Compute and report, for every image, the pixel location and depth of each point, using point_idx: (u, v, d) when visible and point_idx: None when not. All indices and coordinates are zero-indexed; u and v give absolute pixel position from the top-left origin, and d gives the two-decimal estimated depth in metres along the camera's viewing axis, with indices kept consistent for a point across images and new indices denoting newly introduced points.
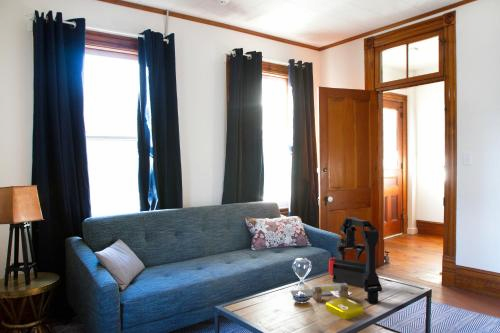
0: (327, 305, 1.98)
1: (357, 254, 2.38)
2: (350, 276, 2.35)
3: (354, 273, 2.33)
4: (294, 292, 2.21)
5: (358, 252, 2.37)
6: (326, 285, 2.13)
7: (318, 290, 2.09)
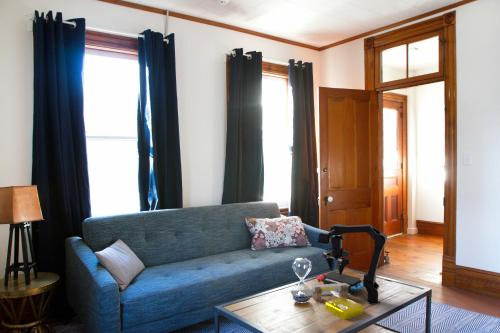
0: (327, 305, 1.98)
1: None
2: None
3: None
4: (294, 292, 2.21)
5: None
6: (326, 285, 2.13)
7: (318, 290, 2.09)
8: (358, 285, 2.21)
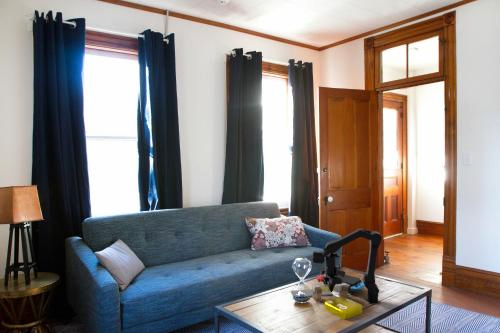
0: (326, 305, 1.98)
1: None
2: None
3: None
4: (294, 292, 2.21)
5: None
6: (326, 285, 2.13)
7: (318, 290, 2.09)
8: (358, 285, 2.21)
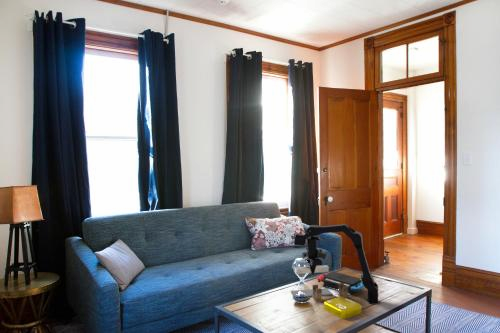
0: (325, 304, 1.99)
1: None
2: None
3: None
4: (294, 292, 2.21)
5: None
6: (307, 267, 2.20)
7: (318, 290, 2.09)
8: (358, 285, 2.21)
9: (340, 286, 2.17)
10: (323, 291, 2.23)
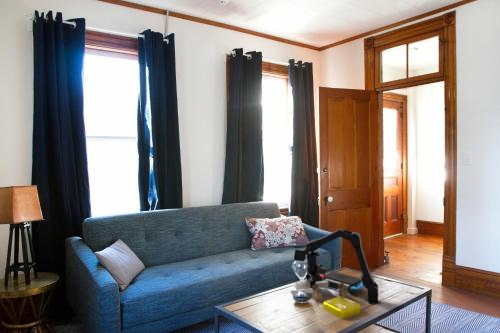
0: (325, 304, 1.99)
1: None
2: None
3: None
4: (294, 292, 2.21)
5: None
6: (307, 282, 2.20)
7: (318, 290, 2.09)
8: (358, 285, 2.21)
9: (340, 286, 2.17)
10: (323, 291, 2.23)
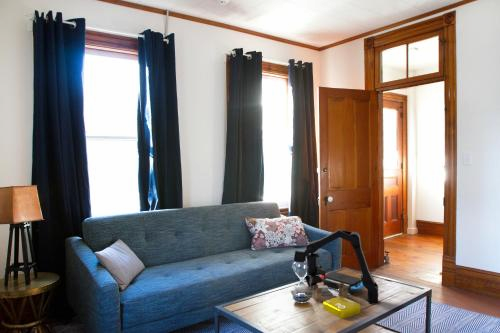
0: (324, 304, 1.99)
1: None
2: None
3: None
4: (294, 292, 2.21)
5: None
6: (307, 287, 2.21)
7: (318, 290, 2.09)
8: (358, 285, 2.21)
9: (340, 286, 2.17)
10: None
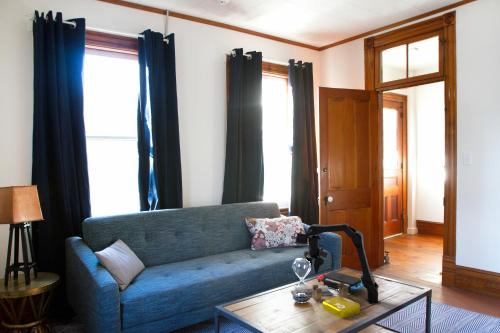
0: (324, 304, 1.99)
1: None
2: None
3: None
4: (294, 292, 2.21)
5: None
6: (307, 287, 2.21)
7: (318, 290, 2.09)
8: (358, 285, 2.21)
9: (340, 286, 2.17)
10: None
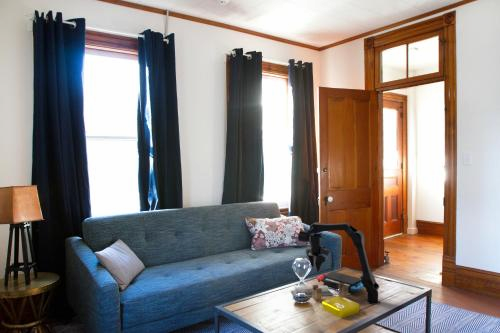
0: (323, 304, 1.99)
1: None
2: None
3: None
4: (294, 292, 2.21)
5: None
6: (307, 287, 2.21)
7: (318, 290, 2.09)
8: (358, 285, 2.21)
9: (340, 286, 2.17)
10: None
